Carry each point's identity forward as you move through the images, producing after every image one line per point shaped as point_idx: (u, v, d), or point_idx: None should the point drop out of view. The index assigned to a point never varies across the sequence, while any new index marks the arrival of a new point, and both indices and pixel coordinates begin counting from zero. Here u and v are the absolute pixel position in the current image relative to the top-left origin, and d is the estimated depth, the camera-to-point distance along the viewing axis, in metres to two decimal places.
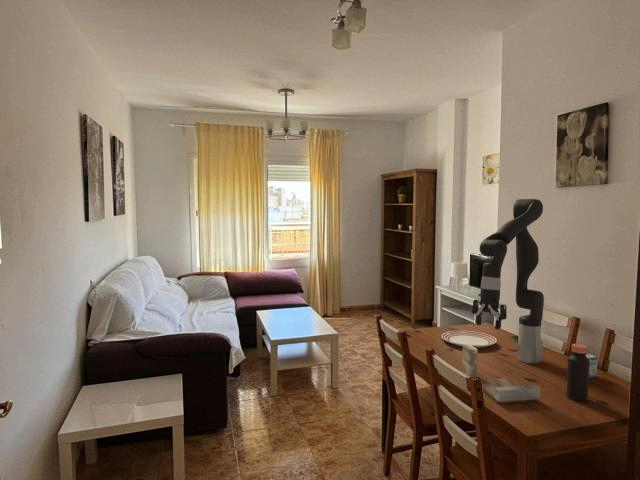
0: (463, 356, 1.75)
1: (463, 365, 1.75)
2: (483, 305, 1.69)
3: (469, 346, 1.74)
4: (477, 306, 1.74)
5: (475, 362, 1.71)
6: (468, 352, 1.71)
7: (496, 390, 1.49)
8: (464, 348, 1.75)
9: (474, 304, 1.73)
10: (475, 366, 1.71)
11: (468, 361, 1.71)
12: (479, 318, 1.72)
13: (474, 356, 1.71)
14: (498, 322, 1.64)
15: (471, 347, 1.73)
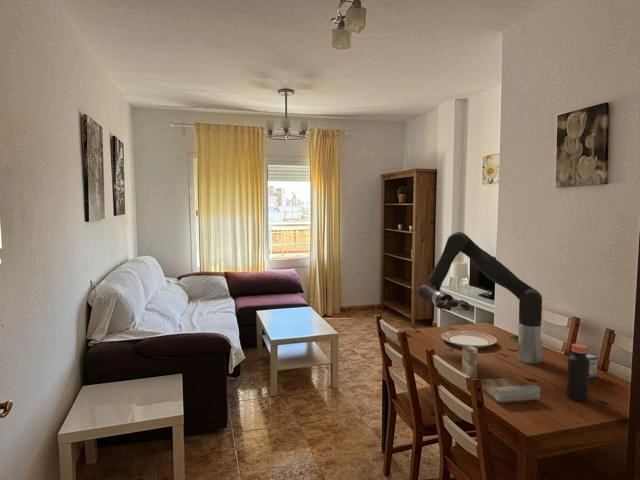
0: (463, 356, 1.75)
1: (463, 365, 1.75)
2: None
3: (469, 346, 1.74)
4: (462, 303, 1.91)
5: (475, 362, 1.71)
6: (468, 352, 1.71)
7: (496, 390, 1.49)
8: (464, 348, 1.75)
9: None
10: (475, 366, 1.71)
11: (468, 361, 1.71)
12: (464, 307, 1.86)
13: (473, 356, 1.71)
14: None
15: (471, 347, 1.73)
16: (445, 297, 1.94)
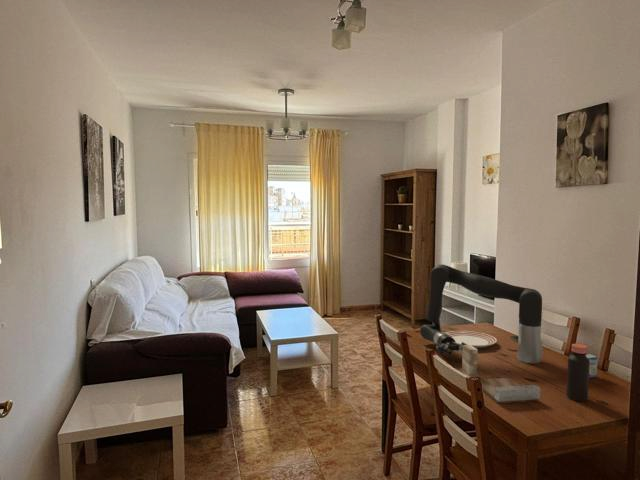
0: (463, 356, 1.75)
1: (463, 365, 1.75)
2: None
3: (469, 346, 1.74)
4: None
5: (475, 362, 1.71)
6: (468, 352, 1.71)
7: (496, 390, 1.49)
8: (464, 348, 1.75)
9: None
10: (475, 366, 1.71)
11: (468, 361, 1.71)
12: None
13: (473, 356, 1.71)
14: (446, 352, 1.84)
15: (471, 347, 1.73)
16: (446, 339, 1.93)
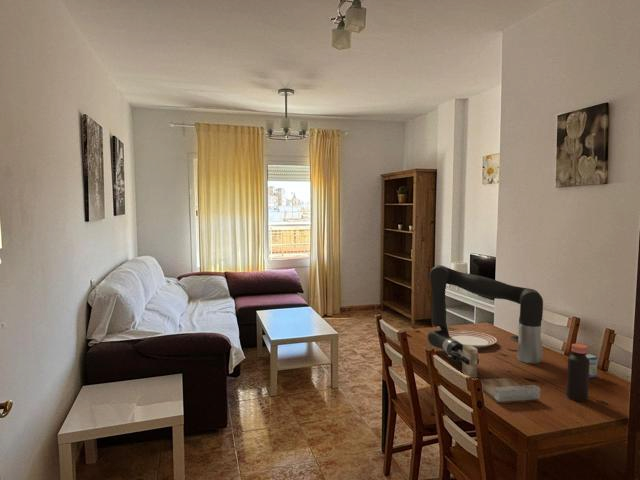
0: None
1: (463, 365, 1.75)
2: None
3: (469, 346, 1.74)
4: None
5: (475, 362, 1.71)
6: (468, 352, 1.71)
7: (496, 390, 1.49)
8: (464, 348, 1.75)
9: None
10: (475, 366, 1.71)
11: None
12: None
13: (474, 356, 1.71)
14: (463, 361, 1.73)
15: (471, 347, 1.73)
16: (457, 347, 1.83)
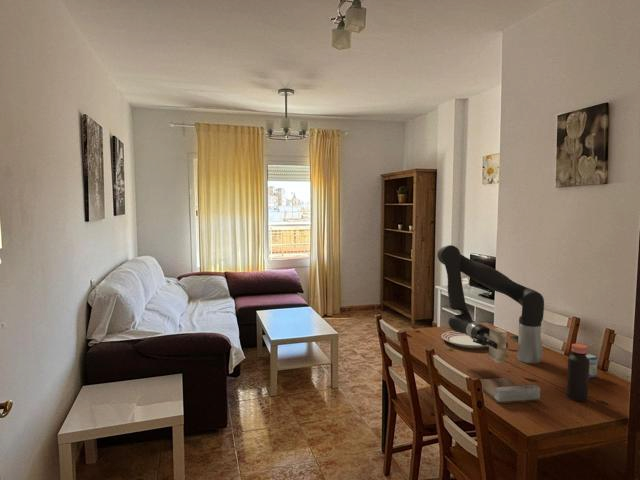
0: None
1: (490, 349, 1.62)
2: None
3: (497, 329, 1.60)
4: None
5: (503, 346, 1.57)
6: (496, 335, 1.57)
7: (496, 390, 1.49)
8: (491, 331, 1.61)
9: None
10: (504, 350, 1.57)
11: None
12: None
13: (502, 340, 1.57)
14: (490, 345, 1.59)
15: (499, 330, 1.59)
16: (482, 330, 1.69)
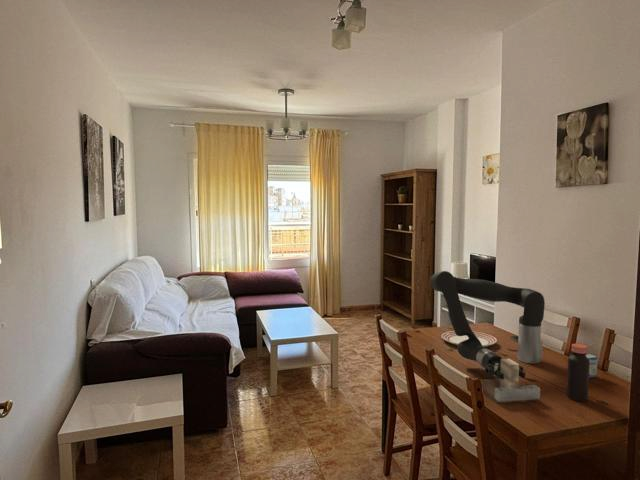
0: (501, 371, 1.56)
1: (501, 382, 1.56)
2: None
3: (508, 360, 1.55)
4: None
5: (516, 378, 1.51)
6: (508, 367, 1.51)
7: (496, 390, 1.49)
8: (503, 362, 1.55)
9: None
10: (516, 383, 1.51)
11: (508, 377, 1.51)
12: None
13: (515, 372, 1.51)
14: (496, 375, 1.54)
15: (511, 361, 1.53)
16: (494, 359, 1.62)
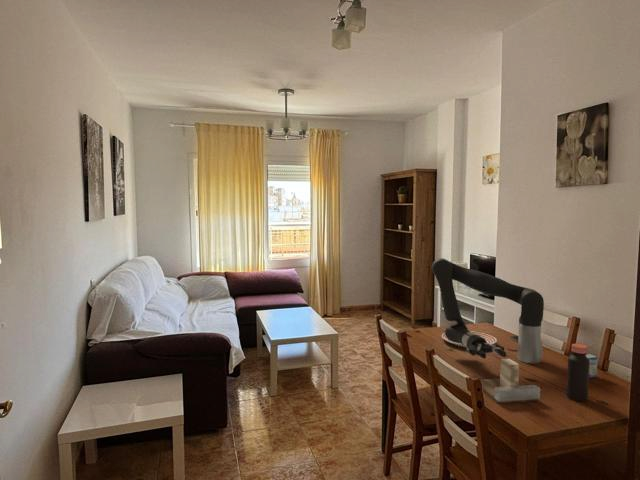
0: (501, 371, 1.56)
1: (501, 382, 1.56)
2: None
3: (508, 360, 1.55)
4: None
5: (516, 378, 1.51)
6: (508, 367, 1.51)
7: (496, 390, 1.49)
8: (503, 362, 1.55)
9: None
10: (516, 383, 1.51)
11: (508, 377, 1.51)
12: (499, 353, 1.68)
13: (515, 372, 1.51)
14: (479, 355, 1.66)
15: (511, 361, 1.53)
16: (477, 341, 1.75)
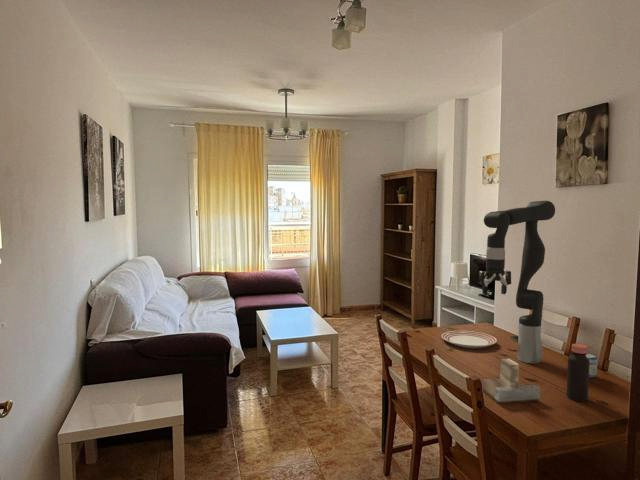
0: (501, 371, 1.56)
1: (501, 382, 1.56)
2: (494, 275, 1.77)
3: (508, 360, 1.55)
4: None
5: (516, 378, 1.51)
6: (508, 367, 1.51)
7: (496, 390, 1.49)
8: (503, 362, 1.55)
9: (483, 276, 1.77)
10: (516, 383, 1.51)
11: (508, 377, 1.51)
12: None
13: (515, 372, 1.51)
14: (505, 287, 1.80)
15: (511, 361, 1.53)
16: None
